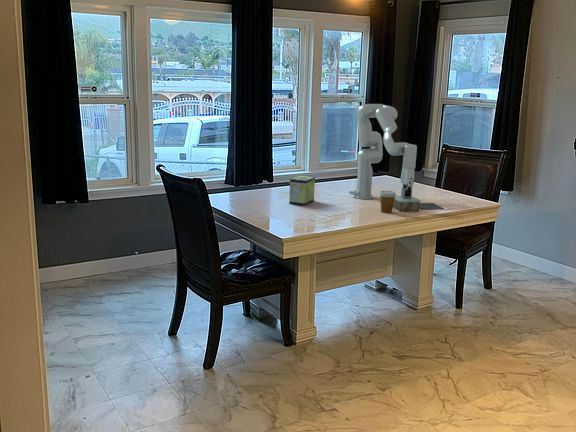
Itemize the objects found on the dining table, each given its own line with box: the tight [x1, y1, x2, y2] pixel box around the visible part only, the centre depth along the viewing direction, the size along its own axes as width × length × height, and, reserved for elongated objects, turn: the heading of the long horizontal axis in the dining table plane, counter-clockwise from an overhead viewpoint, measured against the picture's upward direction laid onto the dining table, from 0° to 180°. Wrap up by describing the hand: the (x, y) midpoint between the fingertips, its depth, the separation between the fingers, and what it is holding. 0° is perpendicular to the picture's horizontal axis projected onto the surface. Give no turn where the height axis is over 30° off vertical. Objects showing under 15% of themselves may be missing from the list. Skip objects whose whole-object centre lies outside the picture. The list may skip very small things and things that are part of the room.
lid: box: [395, 187, 422, 203], centre depth 352 cm, size 13×13×7 cm
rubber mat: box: [419, 202, 445, 211], centre depth 364 cm, size 15×15×1 cm
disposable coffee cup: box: [379, 190, 397, 214], centre depth 346 cm, size 10×10×12 cm
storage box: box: [393, 199, 421, 213], centre depth 354 cm, size 12×12×6 cm
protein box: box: [288, 174, 316, 207], centre depth 362 cm, size 10×16×16 cm
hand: (406, 195), depth 352 cm, fingers closed on lid, 4 cm apart
